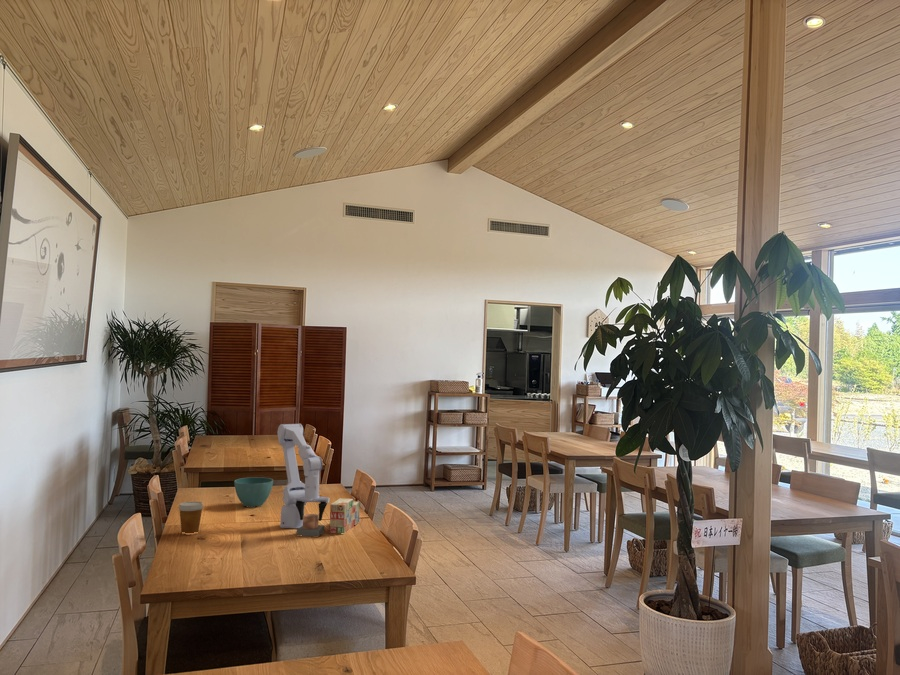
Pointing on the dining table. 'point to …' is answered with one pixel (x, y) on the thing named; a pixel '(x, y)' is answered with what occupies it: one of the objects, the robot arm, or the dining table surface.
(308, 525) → the terracotta cube
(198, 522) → the disposable coffee cup
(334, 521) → the stack of blocks
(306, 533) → the charcoal slab
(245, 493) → the teal bowl
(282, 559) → the dining table surface
